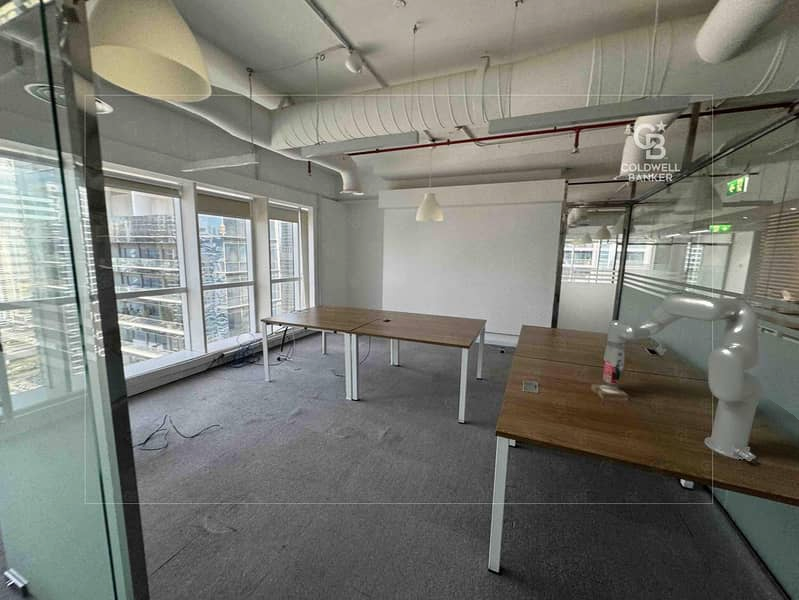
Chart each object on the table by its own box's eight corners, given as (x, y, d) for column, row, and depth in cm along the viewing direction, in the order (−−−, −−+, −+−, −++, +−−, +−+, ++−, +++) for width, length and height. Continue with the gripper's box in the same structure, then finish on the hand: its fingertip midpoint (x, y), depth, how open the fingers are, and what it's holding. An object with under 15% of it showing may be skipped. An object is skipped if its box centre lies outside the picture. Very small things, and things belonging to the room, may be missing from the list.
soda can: (617, 380, 162) (620, 359, 160) (619, 386, 156) (622, 364, 154) (601, 378, 166) (604, 357, 164) (602, 382, 160) (605, 361, 158)
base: (627, 400, 156) (628, 395, 155) (603, 399, 157) (603, 393, 156) (613, 390, 168) (614, 384, 167) (591, 389, 169) (591, 383, 168)
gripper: (634, 350, 149) (629, 384, 152) (613, 339, 166) (608, 370, 169) (618, 349, 149) (613, 383, 152) (598, 339, 166) (594, 369, 169)
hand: (611, 376), depth 160 cm, fingers closed on soda can, 7 cm apart
